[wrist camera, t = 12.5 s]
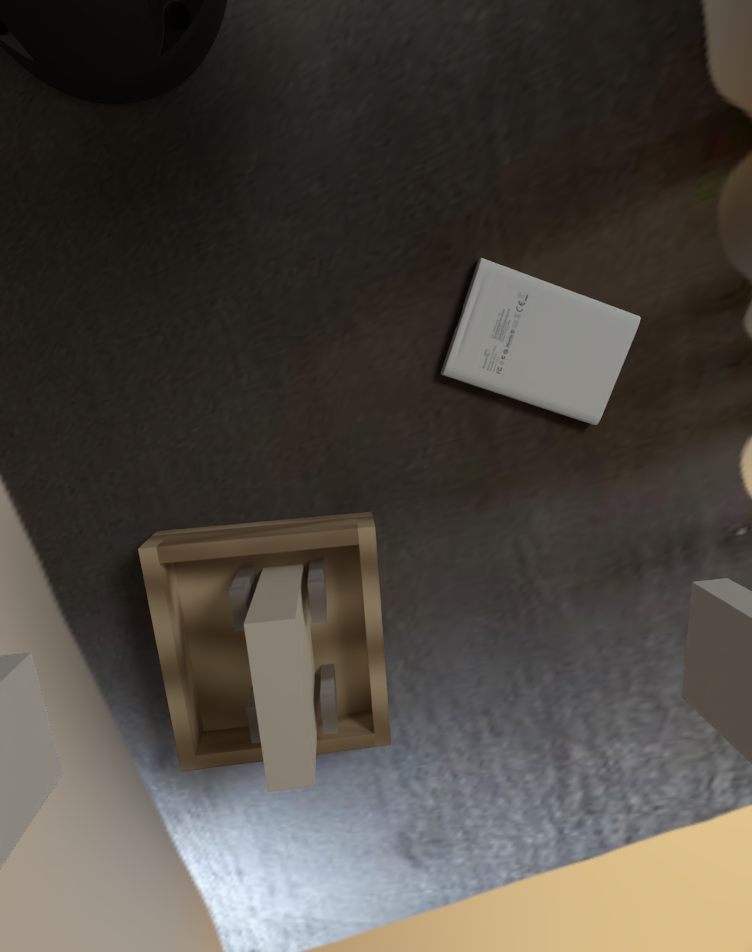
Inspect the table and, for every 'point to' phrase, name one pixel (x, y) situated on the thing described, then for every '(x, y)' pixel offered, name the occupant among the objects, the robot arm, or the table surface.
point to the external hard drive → (539, 343)
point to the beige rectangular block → (283, 677)
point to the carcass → (224, 642)
